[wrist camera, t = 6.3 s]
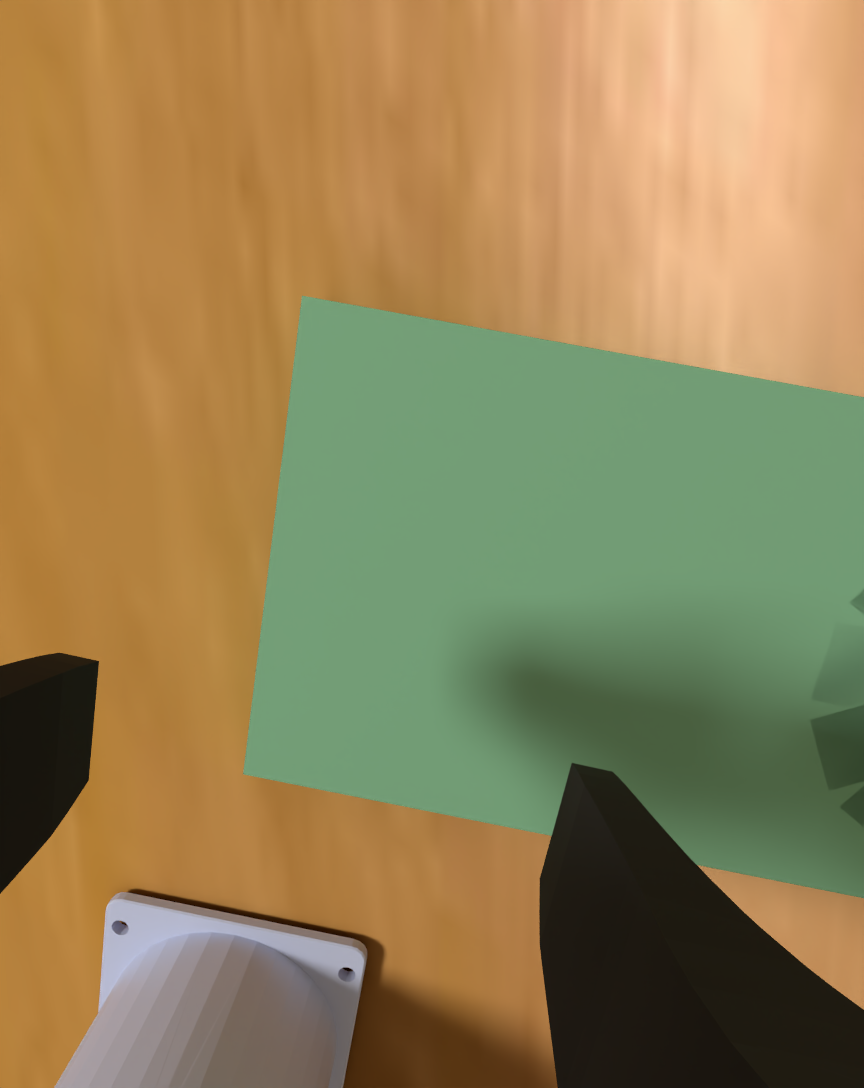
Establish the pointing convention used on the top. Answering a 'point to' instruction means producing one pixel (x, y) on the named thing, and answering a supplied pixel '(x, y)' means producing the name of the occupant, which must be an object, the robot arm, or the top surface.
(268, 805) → the top surface
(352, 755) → the green
